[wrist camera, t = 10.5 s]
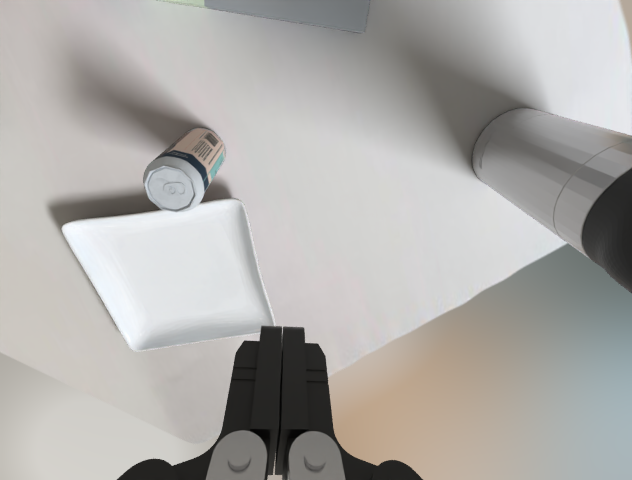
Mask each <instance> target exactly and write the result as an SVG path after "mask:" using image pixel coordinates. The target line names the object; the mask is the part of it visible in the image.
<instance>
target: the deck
mask: <svg viewBox="0 0 632 480" xmlns="http://www.w3.org/2000/svg"><path fill="white" fill-rule="evenodd" d="M158 1H164V2H170V3H176V4H183V5H189V6H195V7H201V8H207V9H214V10H220V11H226V12H232V13H239V14H245V15H251V16H257V17H263V18H270V19H276V20H282V21H288V22H294V23H301V24H307V25H313V26H319V27H326V28H332V29H338V30H344V31H350V32H357V33H363V32H365V28H366V22H367V16H368V11H369V5H370V0H158Z"/></svg>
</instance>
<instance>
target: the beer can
mask: <svg viewBox="0 0 632 480" xmlns="http://www.w3.org/2000/svg"><path fill="white" fill-rule="evenodd" d="M225 157H226V150H225V146H224V143H223V141H222V140H221V138H220V137H219V136H218V135H217V134H216V133H214V132H213V131H211V130H208V129H205V128H195V129H192V130H190V131H188V132H187V133H186V134H184V135H183V136H182V137H181V138H180V139H178V140H177V141H176V142H175V143H174V144H172V145H171V146H170V147H169V148H168V149H166V150H165V151H164V152H163V153H162V154H160V155H159V156H158V157H157V158H156V159H155V160H153V161H152V162H151V163H150V164H149V165H148V166H147V168H146V170H145V172H144V177H143V183H144V188H145V190H146V192H147V195H148V198H149V199H150V200H151V201H152V202H153V203H154V204H155V205H157V206H158V207H159V208H160V209H162V210H167V211H171V212H176V213H177V212H184V211H189V210H191V209H193V208H195V207H196V206H197V205H198V204H199V203H200V202H201V200H202V198H203V196H204V193H205V192H206V190H207V188H208V186H209V185H210V183H211V181H212V180H213V178H214V176H215V174H216V173H217V171H218V169H219V168H220V166H221V165H222V164H223V162H224V160H225Z"/></svg>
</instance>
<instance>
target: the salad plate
mask: <svg viewBox="0 0 632 480" xmlns="http://www.w3.org/2000/svg"><path fill="white" fill-rule="evenodd" d="M61 230H62V233H63V235H64V237H65V239H66V241H67V242H68V244H69V246H70V247H71V249H72V251H73V253H74V254H75V256H76V258H77V259H78V261H79V263H80V264H81V266H82V268H83V269H84V271H85V273H86V274H87V276H88V277H89V279H90V281H91V283H92V284H93V286H94V288H95V289H96V291H97V293H98V295H99V296H100V298H101V300H102V301H103V303H104V305H105V306H106V308H107V310H108V312H109V314H110V315H111V317H112V319H113V321H114V322H115V324H116V326H117V328H118V329H119V331H120V333H121V335H122V336H123V338H124V340H125V342H126V343H127V345H128V346H129V348H130V349H131V350H132V351H135V352H138V351H146V350H152V349H159V348H165V347H172V346H178V345H185V344H191V343H198V342H204V341H211V340H218V339H225V338H232V337H240V336H248V335H255V334H260V333H261V326H276V324H275V319H274V315H273V311H272V308H271V305H270V302H269V299H268V296H267V293H266V289H265V286H264V282H263V279H262V275H261V272H260V268H259V264H258V260H257V255H256V251H255V246H254V242H253V236H252V232H251V227H250V222H249V218H248V214H247V211H246V208H245V205H244V204H243V202H242V201H240V200H239V199H235V198H228V199H219V200H213V201H207V202H202V203H199V204H198V205H197V206H196V207H195V208H193V209H191V210H189V211H184V212H177V213H176V212H171V211H167V210H156V211H149V212H143V213H135V214H128V215H119V216H110V217H100V218H89V219H80V220H75V221H70V222H67V223H65V224H63V225H62V227H61Z"/></svg>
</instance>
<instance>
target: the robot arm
mask: <svg viewBox="0 0 632 480" xmlns="http://www.w3.org/2000/svg"><path fill="white" fill-rule="evenodd" d="M472 163H473V169H474V171H475V173H476V175H477V177H478V178H479V179H480V180H481V181H482V182H484V183H485V184H486V185H488V186H489V187H491V188H492V189H493V190H495V191H496V192H497V193H499V194H500V195H501V196H503V197H504V198H506V199H507V200H508V201H510V202H511V203H513V204H514V205H515V206H517V207H518V208H519V209H521V210H522V211H524V212H525V213H526V214H528V215H529V216H531V217H532V218H533V219H535V220H536V221H538V222H539V223H540V224H542V225H543V226H545V227H546V228H547V229H549V230H550V231H552V232H553V233H554V234H556V235H557V236H559V237H560V238H561V239H563V240H564V241H566V242H567V243H569V244H570V245H571V246H573V247H574V248H576V249H577V250H578V251H580V252H581V253H583V254H584V255H585V256H587V257H588V258H590V259H591V260H593V261H594V262H595V263H597V264H598V265H600V266H601V267H602V268H604V269H605V270H606V272H607V273H608V274H609V275H610V276H611V277H612V278H613V279H614V280H615V281H617V282H618V283H619V284H620V285H621V286H623V287H624V288H626V289H627V290H628V291H629V292H631V293H632V136H631V135H627V134H624V133H620V132H616V131H613V130H609V129H605V128H601V127H598V126H594V125H590V124H587V123H583V122H579V121H575V120H572V119H568V118H564V117H561V116H558V115H554V114H550V113H546V112H543V111H539V110H535V109H529V108H519V109H514V110H511V111H508V112H506V113H504V114H502V115H500V116H498V117H497V118H496V119H494V120H493V121H492V122H491V123H490V124H489V125H488V126H487V127H486V128H485V129H484V130H483V132H482V133H481V135H480V136H479V138H478V140H477V142H476V144H475V147H474V151H473V157H472ZM281 341H282V343H281ZM275 453H276V460H275ZM274 461H276V462H275V475H282V480H423V479H421V477H420V476H419V475H418V474H417V473H416V472H415V471H414V470H412V468H411V467H409V466H408V465H406V464H404V463H402V462H400V461H396V460H389V461H385V462H383V463H381V464H380V465H379V466H376V465H373V464H371V463H368V462H365V461H363V460H360V459H358V458H355V457H353V456H352V455H350V454H349V453H347V452H346V451H345V450H344V449H343V448H342V447H341V446H340V444H339V443H338V441H337V439H336V437H335V434H334V430H333V422H332V413H331V404H330V394H329V385H328V376H327V367H326V358H325V355H324V353H323V351H322V350H321V348H320V346H319V344H313V343H305V333H304V328H303V327H283V334H282V327H280V326H261V333H260V341H244V342H243V343H242V345H241V346H240V348H239V349H238V350H237V352H236V355H235V361H234V366H233V372H232V377H231V383H230V388H229V394H228V399H227V405H226V411H225V416H224V422H223V427H222V431H221V433H220V436H219V438H218V439H217V441H216V442H215V444H214V445H213V446H212V447H211V448H210V449H209V450H208V451H207V452H205V453H204V454H202V455H200V456H199V457H196V458H194V459H191V460H188V461H185V462H182V463H179V464H177V465H174V466H171V465H170V464H169V463H168V462H166V461H164V460H160V459H149V460H145V461H142V462H140V463H138V464H136V465H134V466H133V467H131V468H130V469H129V470H127V471H126V472H125V473H124V474H123V475H122V476H120V477H119V478H118V479H117V480H267V477H268V475H273V468H274Z"/></svg>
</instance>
